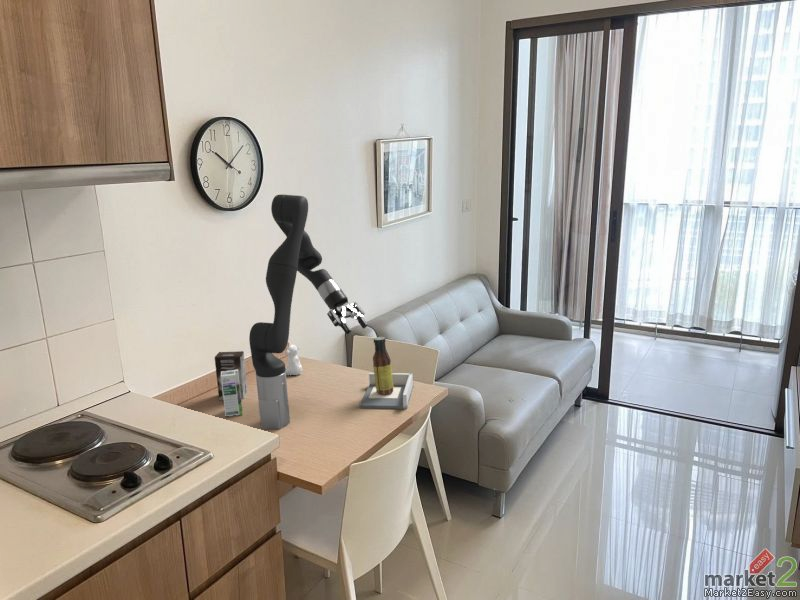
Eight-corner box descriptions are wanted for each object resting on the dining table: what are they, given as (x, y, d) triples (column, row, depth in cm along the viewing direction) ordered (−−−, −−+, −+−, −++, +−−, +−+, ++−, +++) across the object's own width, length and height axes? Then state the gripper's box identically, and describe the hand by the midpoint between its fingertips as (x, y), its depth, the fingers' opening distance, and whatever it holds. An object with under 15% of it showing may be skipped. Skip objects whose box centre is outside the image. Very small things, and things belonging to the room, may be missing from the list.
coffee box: (218, 400, 211) (213, 357, 207) (223, 393, 217) (218, 351, 213) (244, 399, 211) (239, 356, 207) (248, 392, 217) (243, 350, 214)
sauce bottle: (397, 390, 210) (393, 336, 205) (386, 396, 205) (382, 341, 200) (382, 387, 214) (378, 334, 209) (371, 393, 209) (367, 339, 204)
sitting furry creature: (296, 367, 241) (293, 339, 239) (310, 372, 236) (307, 343, 233) (277, 374, 235) (274, 345, 232) (291, 379, 229) (288, 349, 226)
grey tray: (406, 408, 198) (406, 394, 197) (359, 407, 200) (359, 394, 199) (413, 386, 217) (412, 373, 216) (370, 385, 219) (369, 372, 218)
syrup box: (224, 417, 196) (220, 376, 193) (225, 410, 202) (220, 370, 198) (242, 415, 198) (238, 374, 194) (242, 408, 203) (238, 368, 200)
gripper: (323, 292, 208) (349, 328, 203) (350, 284, 219) (376, 319, 214) (313, 305, 212) (339, 341, 208) (341, 297, 223) (365, 331, 219)
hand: (357, 329), depth 211 cm, fingers open, 8 cm apart
